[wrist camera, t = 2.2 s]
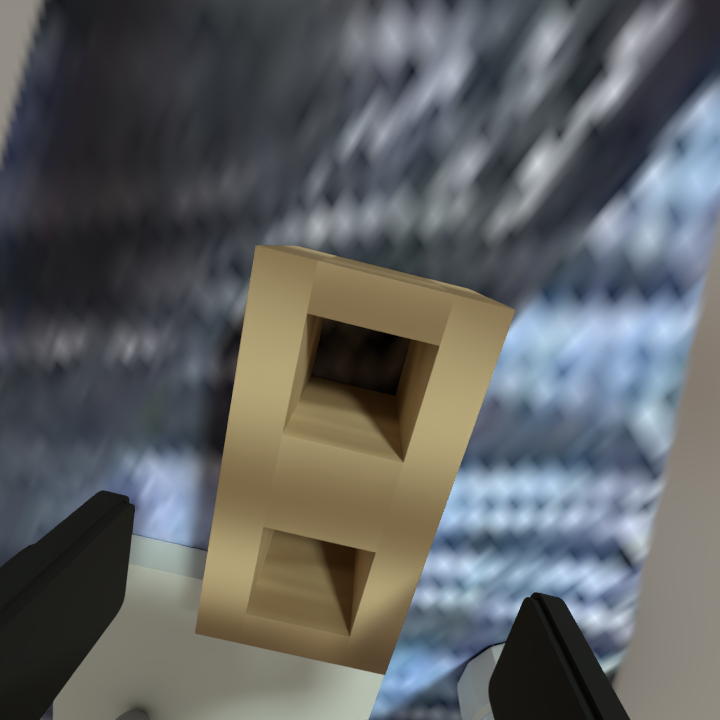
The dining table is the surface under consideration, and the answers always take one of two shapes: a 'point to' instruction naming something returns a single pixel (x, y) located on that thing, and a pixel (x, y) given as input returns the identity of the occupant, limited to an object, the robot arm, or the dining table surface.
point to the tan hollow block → (339, 457)
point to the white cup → (478, 685)
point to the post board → (197, 660)
